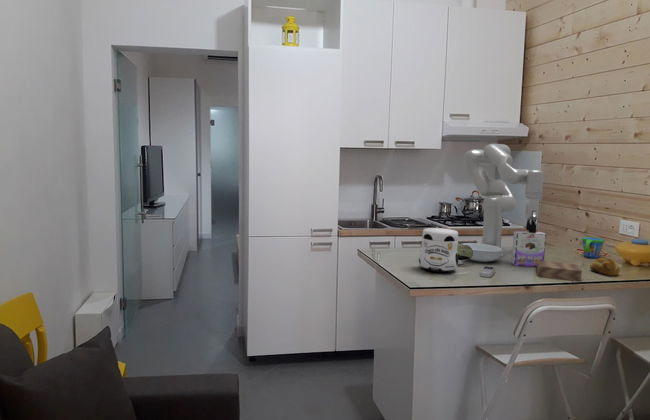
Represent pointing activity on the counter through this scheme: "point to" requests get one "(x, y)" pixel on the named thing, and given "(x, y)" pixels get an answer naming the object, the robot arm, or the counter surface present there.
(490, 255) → the serving bowl
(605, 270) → the bread roll
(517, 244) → the candy box
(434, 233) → the milk container
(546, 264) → the walnut block
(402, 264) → the counter surface
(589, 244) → the snack cup
